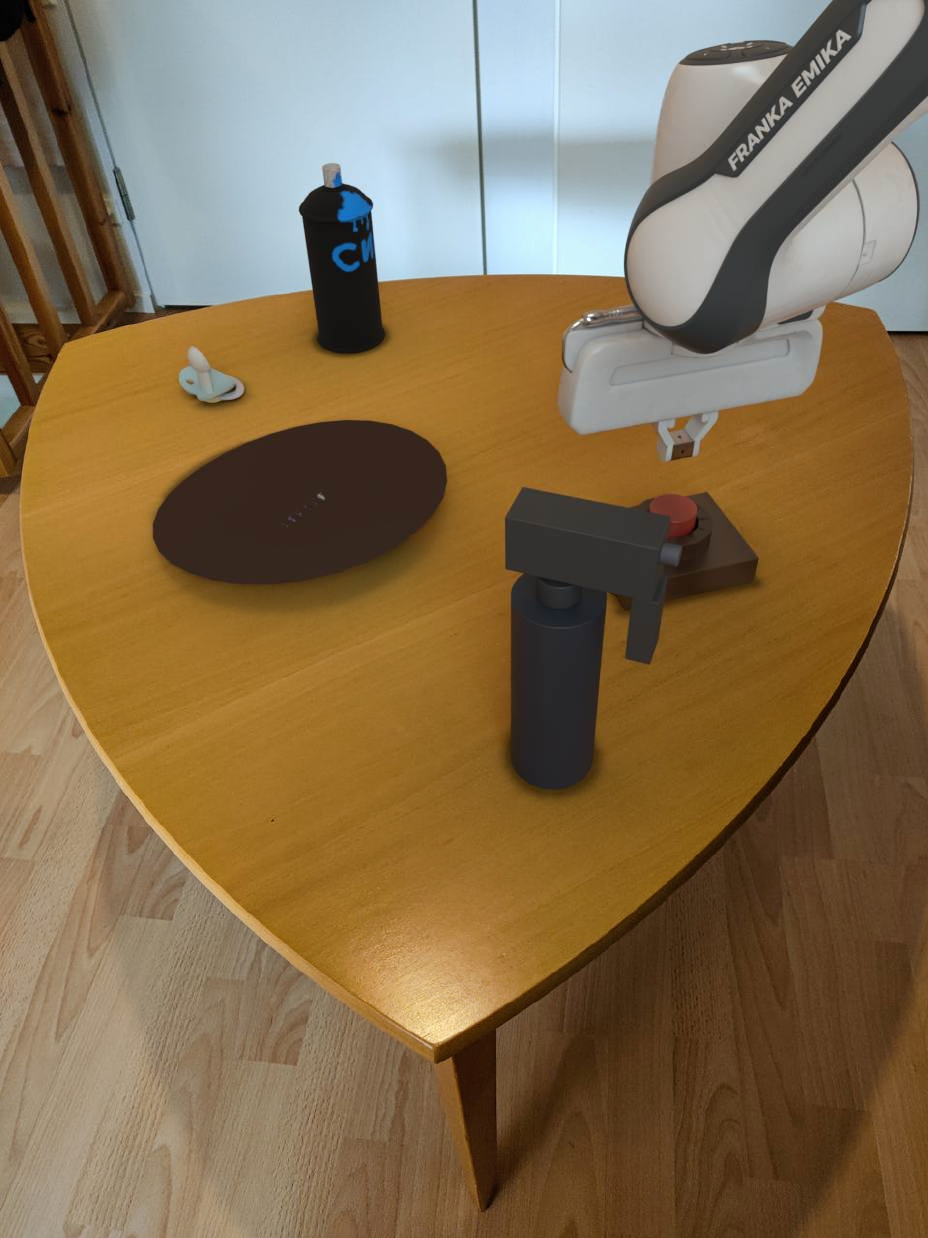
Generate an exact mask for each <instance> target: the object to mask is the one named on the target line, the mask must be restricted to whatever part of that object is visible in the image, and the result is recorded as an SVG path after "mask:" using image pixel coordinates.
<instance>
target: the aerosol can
mask: <svg viewBox="0 0 928 1238" xmlns="http://www.w3.org/2000/svg"><path fill="white" fill-rule="evenodd" d="M321 170H322V176H323V185H320V186H318V187H316V188H315V189H313V190H311V191H310V192H309V193H308V194H307V195H306V197H305V198H304V200H303V201H302V202H300V204H299V206H298V212H299V215H300V216H301V220H302V227H303V232H304V233H303V234H304V240H305V246H306V247H305V248H306V253H307V261H308V267H309V275H310V282H311V289H312V296H313V302H314V303H313V304H314V311H315V317H316V318H315V319H316V325H317V331H318V333H317V339H316V340H317V342H318V344H319V345H320V346H321V348H323V349H324V350H327V351H330V352H332V353H337V354H357V353H362V352H365V351H369V350H371V349H374V348H375V347H378V346H379V345H380V344H381V343H382V342H383V341H384V340H385V337H386V330H385V328H384V326H383V319H382V308H381V299H380V288H379V287H380V286H379V278H378V276H379V275H378V266H377V256H376V246H375V236H374V235H375V234H374V225H373V214H372V213H373V212H372V211H373V208H374V202H373V200H372V199H371V197H369V196H367V195H366V193H364V192H363V191H361V190H360V189H359V188H358V187H356V186H354V185H351V184H347V183H343V177H342V169H341V164H339V163H337V162H335V163H334V162H330V163H329V162H328V163H325V164H323V165H322V166H321Z"/></svg>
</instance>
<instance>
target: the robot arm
mask: <svg viewBox="0 0 928 1238" xmlns="http://www.w3.org/2000/svg"><path fill="white" fill-rule="evenodd" d="M926 114H928V0H831V1H830V3H829V4H828V5H827V6H826V7H825V8H824V9H823V11H821V13H820V15H818V17H817V18H816V19H815V20H814V22H812V24H811V25H810V27H808V29H807V30H806V31H805V32H804V34H803V35H801V37H800V38H799V40H798V41H797V42H796V43H795V44H794V46H793V45H790V44H788V43H786V42H784V41H779V40H771V39H758V40H757V39H756V40H744V41H740V42H727V43H723V44H718V45H712V46H709V47H704V48H701V49H697V50H694V51H693V52H691V53H690V52H689V53H688V54H687V55H685V57H684V58H683V59H681V60H679V61H678V62H677V64H676V65H675V66H674V68H673V70H672V73H671V74H670V76H669V79H668V82H667V84H666V87H665V90H664V93H663V97H662V101H661V105H660V110H659V114H658V118H657V125H656V130H655V137H654V143H653V151H652V159H651V165H650V166H651V167H650V178H649V186H648V188H647V190H645V193H644V194H643V196H642V197H641V200H640V202H639V203H638V206H637V208H636V210H635V212H634V215H633V217H632V220H631V222H630V226H629V228H628V229H629V230H628V233H627V236H626V242H625V247H624V252H623V253H624V254H623V273H624V274H623V275H624V282H625V285H626V289H627V292H628V296H629V298H630V300H631V302H632V303H631V304H626V305H620V306H617V307H613V308H609V309H593V310H589V311H587V312H583V314H582V315H581V318H579V319H577V320H575V321H573V322H572V323H571V324H570V325H569V326H568V327H567V328H565V330H564V332H563V334H562V338H561V339H562V340H561V362H562V367H561V374H560V376H559V377H560V379H559V382H558V383H559V384H558V391H557V401H556V402H557V409H558V412H559V414H560V417H562V419H563V421H564V422H565V423H566V425H567V426H568V427H569V428H570V429H571V430H572V431H573V432H574V433H575V434H577V435H579V436H586V435H587V436H588V435H591V434H598V433H603V432H608V431H613V430H619V429H624V428H630V427H636V426H641V425H647V424H650V425H651V426H652V428H653V430H654V432H655V433H656V435H657V441H656V453H657V456H658V457H659V459H660V460H661V461H662V463H667V462H672V461H678V460H682V459H687V458H693V457H698V455H699V452H700V446H701V440H703V439H704V438H705V436H706V435H707V434H708V432H710V430H711V429H712V428H713V426H714V425H715V424H716V422H717V421H718V419H719V413H720V411H723V410H728V409H734V408H741V407H745V406H750V405H751V406H752V405H757V404H763V403H766V402H767V403H768V402H773V401H779V400H784V399H789V398H796V397H800V396H802V395H803V394H804V393H805V392H806V391H807V390H808V389H809V388H810V387H811V385H812V384H813V383H814V381H815V378H816V374H817V370H818V367H819V362H820V358H821V351H822V344H823V336H824V334H823V333H824V332H823V326H822V322H821V321H820V320H819V318H821V316H822V315H823V314H824V313H825V310H826V307H827V305H828V304H831V303H833V302H836V301H839V300H841V299H844V298H847V297H849V296H851V295H855V294H856V293H859V292H861V291H863V290H866V289H868V288H870V287H872V286H873V285H876V284H878V283H880V282H882V281H884V280H886V279H888V278H889V277H890V276H892V275H893V274H894V273H895V272H896V271H897V270H898V268H900V266H901V265H902V264H903V263H904V261H905V260H906V258H907V257H908V254H909V252H910V250H911V248H912V246H913V244H914V240H915V238H916V236H917V230H918V227H919V221H920V211H921V199H920V198H921V197H920V190H919V185H918V180H917V177H916V174H915V171H914V169H913V168H914V167H913V166H912V165H911V162H910V160H909V159H908V158H907V156H906V154H905V153H904V152H903V151H902V149H901V148H900V147H899V146H898V145H897V144H896V143H895V142H894V140H895V139H896V138H897V137H898V136H899V135H900V134H901V133H903V132H904V131H905V130H906V129H908V128H909V127H910V126H911V125H912V124H914V123H915V122H917V121H918V120H919V119H921V118H923V116H925V115H926ZM685 417H690V418H689V420H688V422H686V424H685V426H684V428H683V429H678V430H672V431H669V430H668V429H673V428H674V427H675V424H676V419H681V418H685Z"/></svg>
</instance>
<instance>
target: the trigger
mask: <svg viewBox="0 0 928 1238" xmlns="http://www.w3.org/2000/svg"><path fill="white" fill-rule="evenodd" d="M666 585H667V578H663V577H661V578H660V580H659V583H658V586H657V588H656V591H655V594H654V597H653V599H652V601H651V602H649V601H644V600H640V599H635V598H632V600H631V609H629V618H628V627H627V636H626V645H625V655H624V659H625V660H627V661H632V662H636V663H640V664H644V665H649V666H650V665H651V663H652V661H653V657H654V654H655V651H656V649H657V647H658V644H659V640H660V634H661V633H660V631H661V628H662V627H661V626H662V621H663V620H662V619H663V613H664V605H665V601H664V599H665V592H666Z"/></svg>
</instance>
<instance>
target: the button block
mask: <svg viewBox="0 0 928 1238" xmlns="http://www.w3.org/2000/svg"><path fill="white" fill-rule="evenodd" d="M684 496H685V497H687V498H689V499H691V500H692V501H693V502H694V503H695V505H696V507H697V515H696V522H695V527H694V529H693V531H692V532H691V533H690V534H688V535H686V536H681V537H668V542H667V543H669V544H674V545H679V546H682V552H681V557H680V561H679V564H678V566H677V567H676V566H671V565H667V564H664V569H663V572H662V575H661V577H663V578H667V585H666V592H665V599H664V602H668V601H673V600H677V599H681V598H686V597H691V596H695V595H696V596H697V595H700V594H705V593H709V592H714V591H718V590H719V591H720V590H723V589H728V588H733V587H737V586H741V585H746V584H750V583H754V582H755V578H756V573H757V570H758V564H759V560H760V559H759V556H758V554H756V552H755V550H753V548H752V547H751V546H750V545H749V544H748V542H747V541H746V540H745V538H744V537H743V536H742V534H741V533H740V531H738V529H737V528H736V526H735V525H734V524H733V522H732V521H731V520H730V519H729V518H728V516H727V515H726V514H725V512H724V511H723V509H721V508H720V506H719V504H718V503H717V502H716V501H715V500H714V498H713V497H712V496H711V494H710V493H709V492H708V491H704V492H700V493H694V494H690V495H689V494H688V495H684ZM654 498H655V497H652V498H651V497H650V498H647V499H645V500H643V501H642V502H640V503H639V504H637V505H634V506H630V507H628V508H632V509H637V510H642V511H647V512H649V507H650V503H651V502H652V500H653V499H654ZM614 595H615V597H616V598H617V599H618V602H619V603H620V605H621V606H622V609H623V610H624V611H627V610H630V609H631V600H632V598H631V597H626V596H622V595H618V594H614Z"/></svg>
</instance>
